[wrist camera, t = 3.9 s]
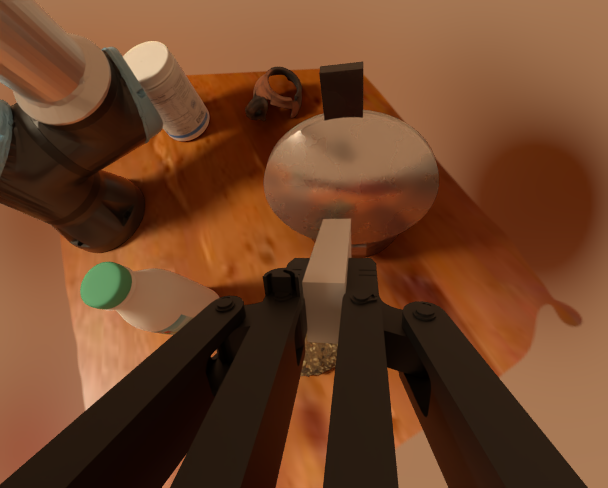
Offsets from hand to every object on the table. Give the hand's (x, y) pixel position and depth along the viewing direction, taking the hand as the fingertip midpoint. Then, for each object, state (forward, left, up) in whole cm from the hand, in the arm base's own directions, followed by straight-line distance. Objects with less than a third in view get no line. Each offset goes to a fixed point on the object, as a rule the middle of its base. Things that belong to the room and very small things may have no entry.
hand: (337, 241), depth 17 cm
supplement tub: (-50, -7, -29) cm, 58 cm away
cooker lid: (-9, +6, -10) cm, 15 cm away
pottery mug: (-41, +9, -29) cm, 51 cm away
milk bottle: (-13, -20, -29) cm, 37 cm away
